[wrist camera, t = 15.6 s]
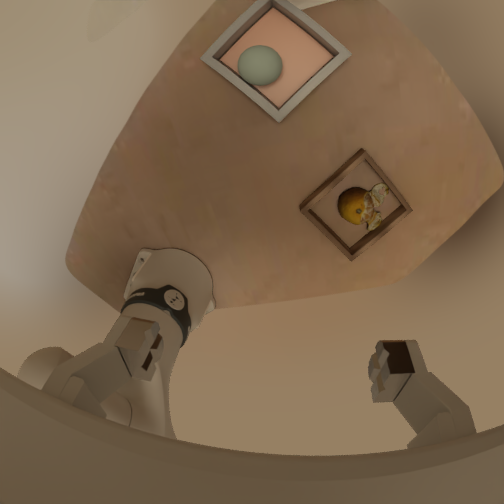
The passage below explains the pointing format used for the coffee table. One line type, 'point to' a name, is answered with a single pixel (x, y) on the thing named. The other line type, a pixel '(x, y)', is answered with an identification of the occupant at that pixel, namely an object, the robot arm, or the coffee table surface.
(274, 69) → the ball
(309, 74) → the grey square tray
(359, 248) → the fruit tray
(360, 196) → the fruit
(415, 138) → the coffee table surface
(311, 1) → the heart sculpture
